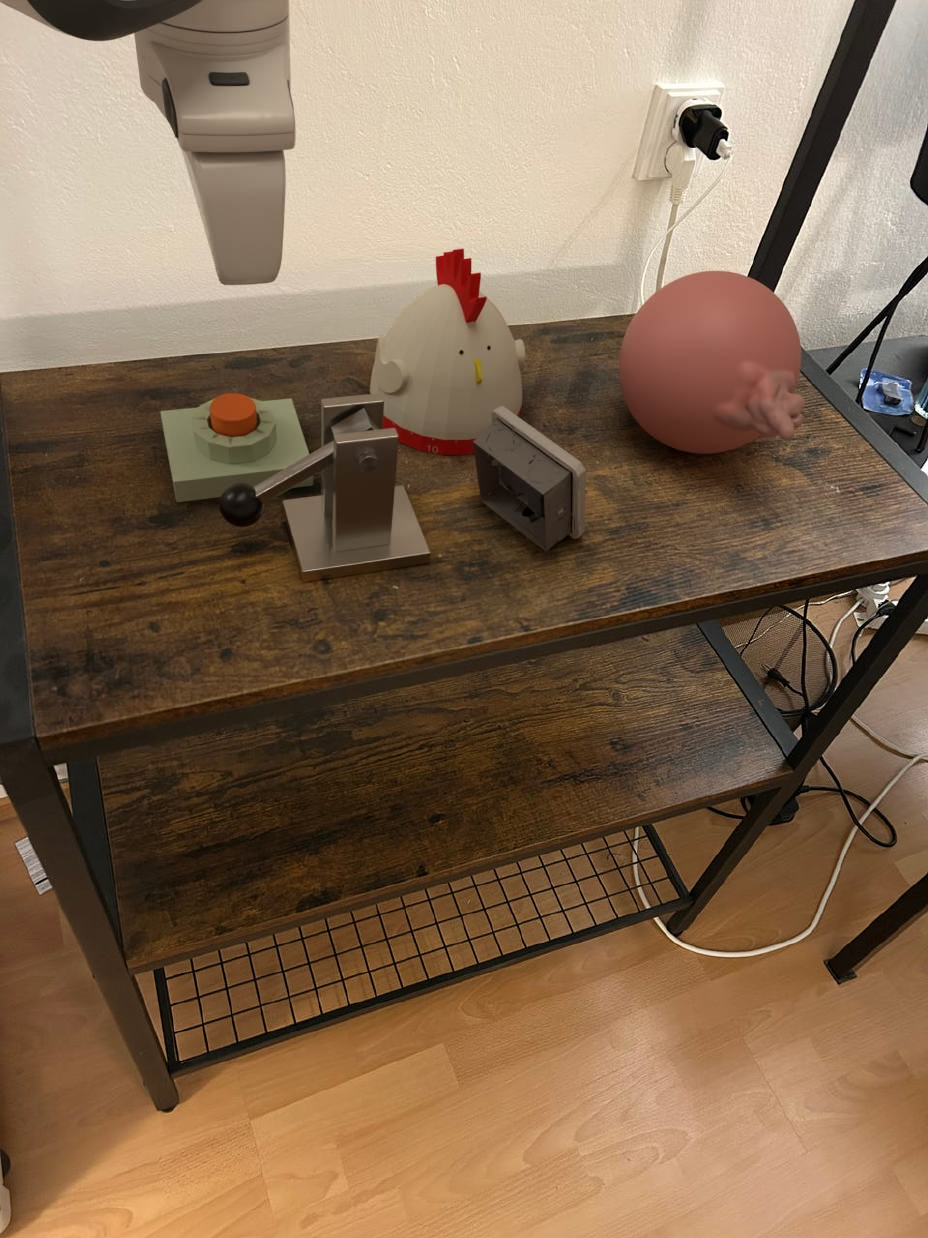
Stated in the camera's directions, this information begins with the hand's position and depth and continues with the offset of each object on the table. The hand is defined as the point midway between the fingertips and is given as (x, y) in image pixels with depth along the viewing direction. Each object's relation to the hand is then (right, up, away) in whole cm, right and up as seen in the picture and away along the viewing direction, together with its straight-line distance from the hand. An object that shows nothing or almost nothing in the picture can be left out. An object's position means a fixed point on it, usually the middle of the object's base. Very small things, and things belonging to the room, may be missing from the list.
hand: (229, 273), depth 68 cm
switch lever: (+5, -14, +4) cm, 16 cm away
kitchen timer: (+15, -5, +22) cm, 26 cm away
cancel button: (-2, -8, +11) cm, 14 cm away
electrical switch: (+21, -16, +13) cm, 30 cm away
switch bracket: (+8, -18, +9) cm, 21 cm away
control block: (-3, -11, +14) cm, 18 cm away
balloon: (+38, -9, +21) cm, 44 cm away
